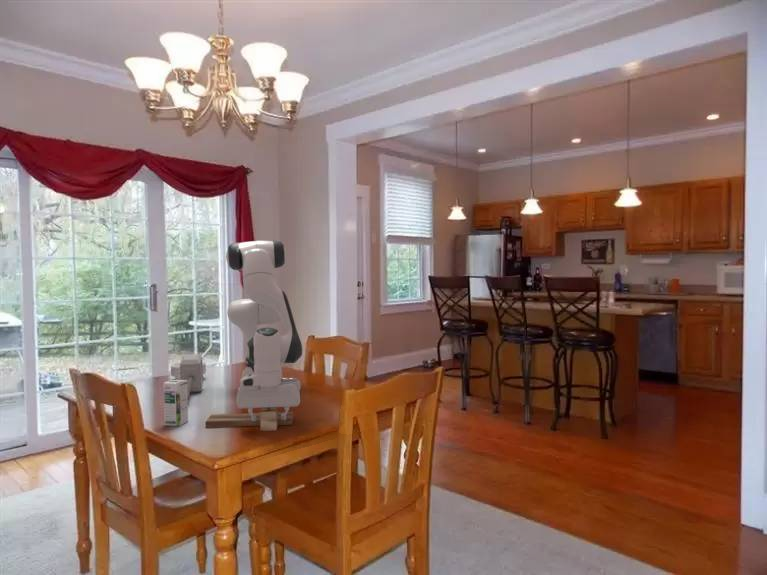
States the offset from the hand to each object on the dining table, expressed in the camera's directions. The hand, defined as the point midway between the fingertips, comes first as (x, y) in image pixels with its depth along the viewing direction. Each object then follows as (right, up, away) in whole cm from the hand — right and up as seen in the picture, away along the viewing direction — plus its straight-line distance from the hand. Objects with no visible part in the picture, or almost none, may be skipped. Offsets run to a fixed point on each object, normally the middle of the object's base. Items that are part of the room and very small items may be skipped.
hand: (269, 420), depth 170 cm
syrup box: (-33, -3, +6) cm, 33 cm away
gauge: (0, -2, +4) cm, 5 cm away
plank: (-8, -2, +7) cm, 10 cm away
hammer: (-41, -1, +39) cm, 57 cm away
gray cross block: (-53, 0, +71) cm, 89 cm away
